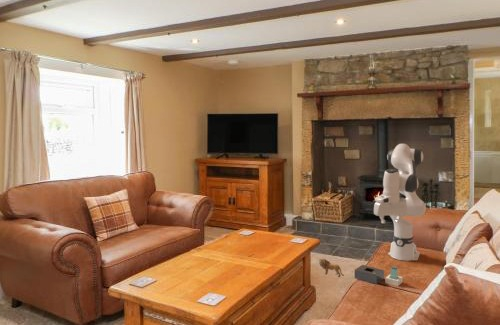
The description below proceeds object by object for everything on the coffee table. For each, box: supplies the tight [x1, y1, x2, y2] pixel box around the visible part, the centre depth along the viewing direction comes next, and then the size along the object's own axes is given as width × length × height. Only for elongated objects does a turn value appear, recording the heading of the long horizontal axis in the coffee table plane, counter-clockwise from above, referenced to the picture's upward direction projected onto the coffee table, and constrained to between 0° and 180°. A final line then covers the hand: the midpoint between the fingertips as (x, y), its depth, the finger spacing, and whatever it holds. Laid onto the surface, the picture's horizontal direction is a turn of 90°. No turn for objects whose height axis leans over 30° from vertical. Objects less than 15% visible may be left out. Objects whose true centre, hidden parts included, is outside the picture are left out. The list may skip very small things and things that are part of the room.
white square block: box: [384, 274, 404, 287], centre depth 217 cm, size 7×7×3 cm
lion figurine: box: [318, 257, 345, 278], centre depth 229 cm, size 15×5×9 cm, turn 66°
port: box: [354, 264, 385, 285], centre depth 223 cm, size 10×13×5 cm
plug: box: [389, 265, 399, 280], centre depth 216 cm, size 3×3×9 cm
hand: (390, 222), depth 220 cm, fingers open, 8 cm apart
